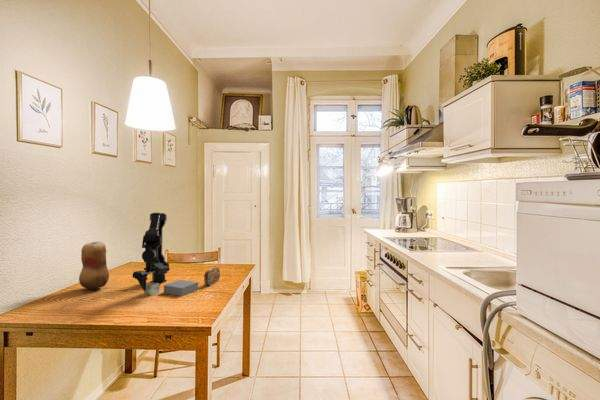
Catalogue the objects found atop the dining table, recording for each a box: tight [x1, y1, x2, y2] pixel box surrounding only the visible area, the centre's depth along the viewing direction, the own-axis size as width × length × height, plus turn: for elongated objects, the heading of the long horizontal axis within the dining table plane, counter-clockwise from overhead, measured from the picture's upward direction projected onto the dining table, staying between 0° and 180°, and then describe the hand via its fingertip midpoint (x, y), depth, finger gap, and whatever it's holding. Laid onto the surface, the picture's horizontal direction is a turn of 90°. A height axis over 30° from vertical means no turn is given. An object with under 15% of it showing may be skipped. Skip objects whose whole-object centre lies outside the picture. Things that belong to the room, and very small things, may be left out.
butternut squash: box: [78, 241, 110, 291], centre depth 176 cm, size 14×13×25 cm
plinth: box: [163, 279, 199, 297], centre depth 174 cm, size 12×12×4 cm
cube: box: [143, 282, 160, 296], centre depth 169 cm, size 5×5×5 cm
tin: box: [203, 267, 221, 286], centre depth 189 cm, size 15×3×8 cm, turn 168°
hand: (151, 288), depth 170 cm, fingers open, 9 cm apart
